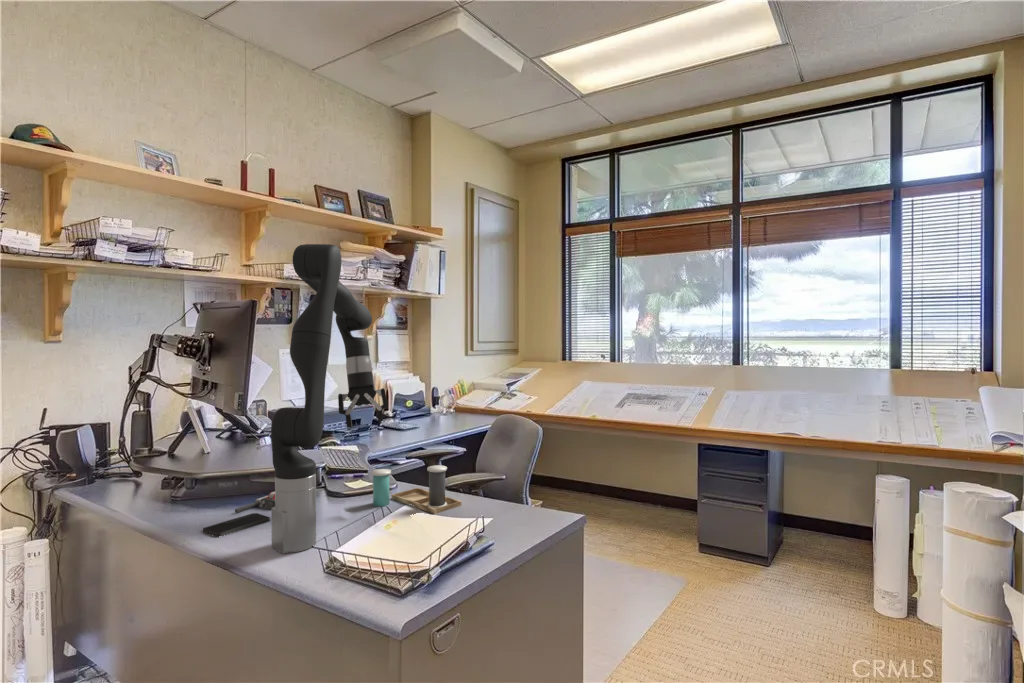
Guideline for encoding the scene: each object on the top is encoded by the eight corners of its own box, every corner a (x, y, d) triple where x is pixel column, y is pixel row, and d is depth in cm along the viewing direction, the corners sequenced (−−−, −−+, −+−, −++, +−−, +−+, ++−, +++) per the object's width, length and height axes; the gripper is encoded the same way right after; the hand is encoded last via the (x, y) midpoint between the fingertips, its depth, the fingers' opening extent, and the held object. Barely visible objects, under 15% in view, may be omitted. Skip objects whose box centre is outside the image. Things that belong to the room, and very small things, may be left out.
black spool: (435, 510, 158) (436, 471, 158) (423, 505, 162) (423, 467, 162) (450, 505, 162) (451, 467, 162) (438, 501, 166) (438, 464, 166)
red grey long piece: (287, 495, 177) (232, 515, 159) (287, 481, 177) (232, 499, 159) (308, 499, 174) (255, 519, 155) (308, 485, 173) (255, 503, 155)
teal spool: (378, 513, 160) (378, 474, 159) (367, 509, 163) (367, 471, 163) (395, 508, 164) (395, 471, 163) (383, 504, 167) (383, 467, 167)
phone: (271, 518, 153) (217, 534, 141) (271, 522, 153) (217, 539, 141) (254, 512, 157) (200, 528, 145) (254, 516, 157) (200, 532, 145)
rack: (461, 510, 163) (461, 501, 162) (434, 519, 155) (434, 509, 155) (417, 496, 176) (417, 487, 176) (391, 503, 169) (391, 494, 168)
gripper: (333, 374, 166) (339, 429, 165) (383, 368, 169) (389, 422, 167) (336, 376, 174) (342, 428, 172) (383, 370, 177) (389, 422, 175)
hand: (365, 425), depth 170 cm, fingers open, 8 cm apart
